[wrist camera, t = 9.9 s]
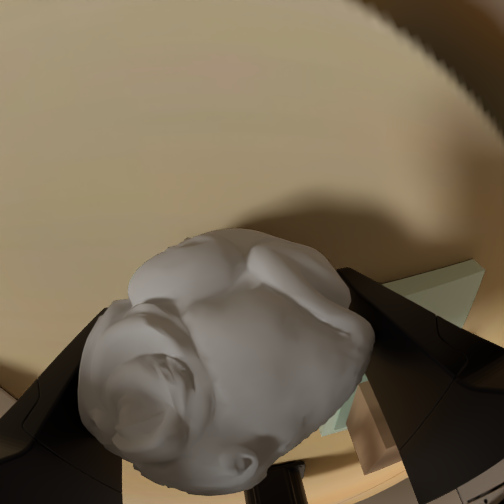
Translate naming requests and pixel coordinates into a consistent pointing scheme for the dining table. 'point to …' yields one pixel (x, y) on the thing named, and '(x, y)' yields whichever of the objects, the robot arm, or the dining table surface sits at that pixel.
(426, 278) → the base board
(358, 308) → the robot arm
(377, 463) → the walnut block
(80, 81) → the dining table surface
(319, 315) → the grey lumpy rounded piece
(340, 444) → the dining table surface
